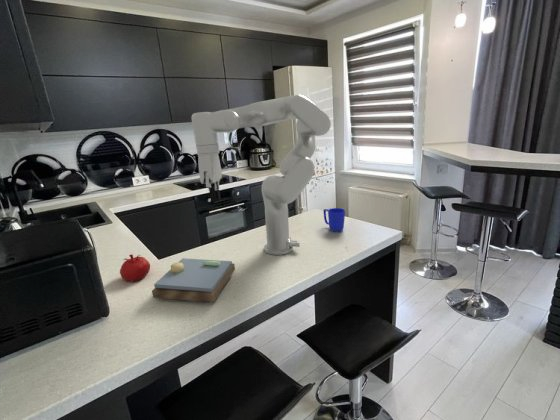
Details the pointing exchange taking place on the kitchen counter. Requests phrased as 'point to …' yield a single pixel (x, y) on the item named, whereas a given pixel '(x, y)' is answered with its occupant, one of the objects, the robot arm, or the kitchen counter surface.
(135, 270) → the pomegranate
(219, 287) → the wooden board
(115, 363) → the kitchen counter surface
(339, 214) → the mug
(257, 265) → the kitchen counter surface
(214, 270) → the plate
